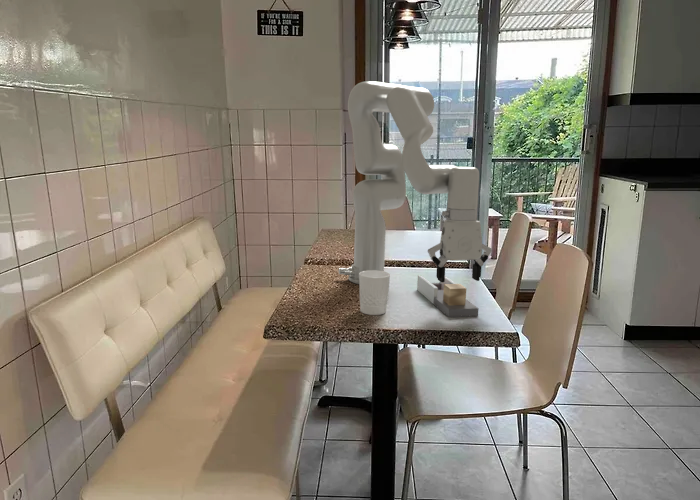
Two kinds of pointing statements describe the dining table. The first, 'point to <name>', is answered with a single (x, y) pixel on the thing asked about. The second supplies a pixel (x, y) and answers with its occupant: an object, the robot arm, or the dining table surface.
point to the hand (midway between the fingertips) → (458, 280)
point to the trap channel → (436, 297)
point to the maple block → (454, 294)
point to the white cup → (373, 291)
